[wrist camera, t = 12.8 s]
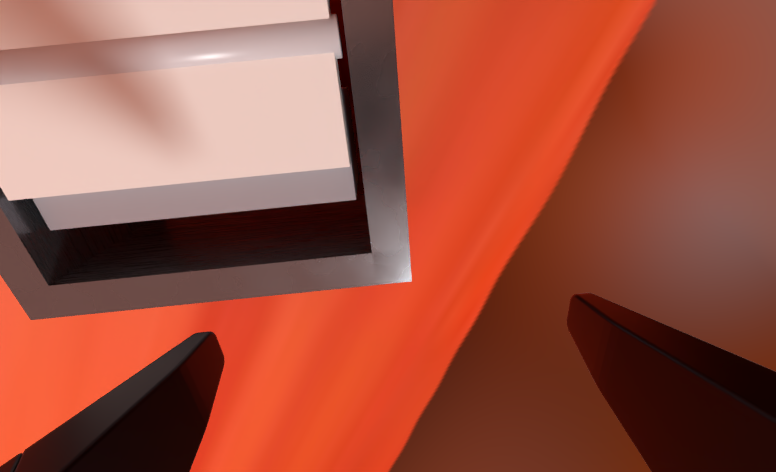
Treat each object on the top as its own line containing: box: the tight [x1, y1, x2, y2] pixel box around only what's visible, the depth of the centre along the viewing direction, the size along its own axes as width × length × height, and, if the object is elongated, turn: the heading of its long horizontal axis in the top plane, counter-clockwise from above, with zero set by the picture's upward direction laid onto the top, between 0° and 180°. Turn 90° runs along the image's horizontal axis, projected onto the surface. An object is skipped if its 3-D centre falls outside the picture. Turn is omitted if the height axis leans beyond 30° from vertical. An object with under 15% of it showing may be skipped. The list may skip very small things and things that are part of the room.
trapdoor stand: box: [0, 0, 412, 320], centre depth 14 cm, size 16×15×8 cm
